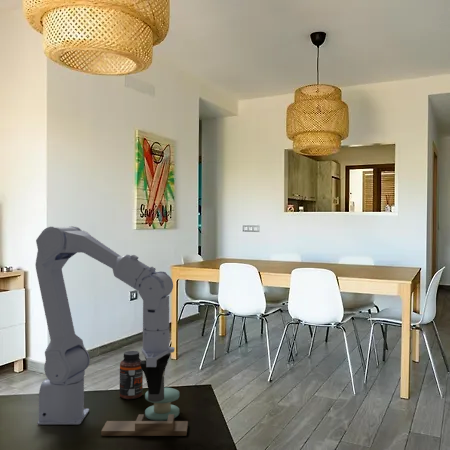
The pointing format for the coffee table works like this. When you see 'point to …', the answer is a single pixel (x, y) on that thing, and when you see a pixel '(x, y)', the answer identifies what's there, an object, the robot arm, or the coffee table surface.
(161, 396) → the plug
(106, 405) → the coffee table surface
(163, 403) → the disc
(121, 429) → the board
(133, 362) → the supplement bottle
